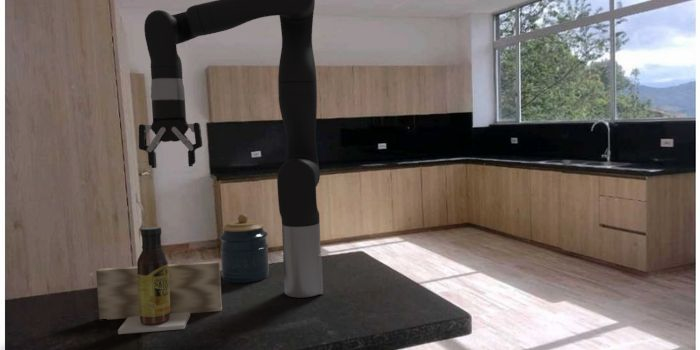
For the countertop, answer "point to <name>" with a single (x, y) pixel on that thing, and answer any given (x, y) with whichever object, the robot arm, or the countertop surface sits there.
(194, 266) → the birch board
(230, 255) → the canister
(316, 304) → the countertop surface
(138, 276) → the sauce bottle
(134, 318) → the white plate
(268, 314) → the countertop surface
